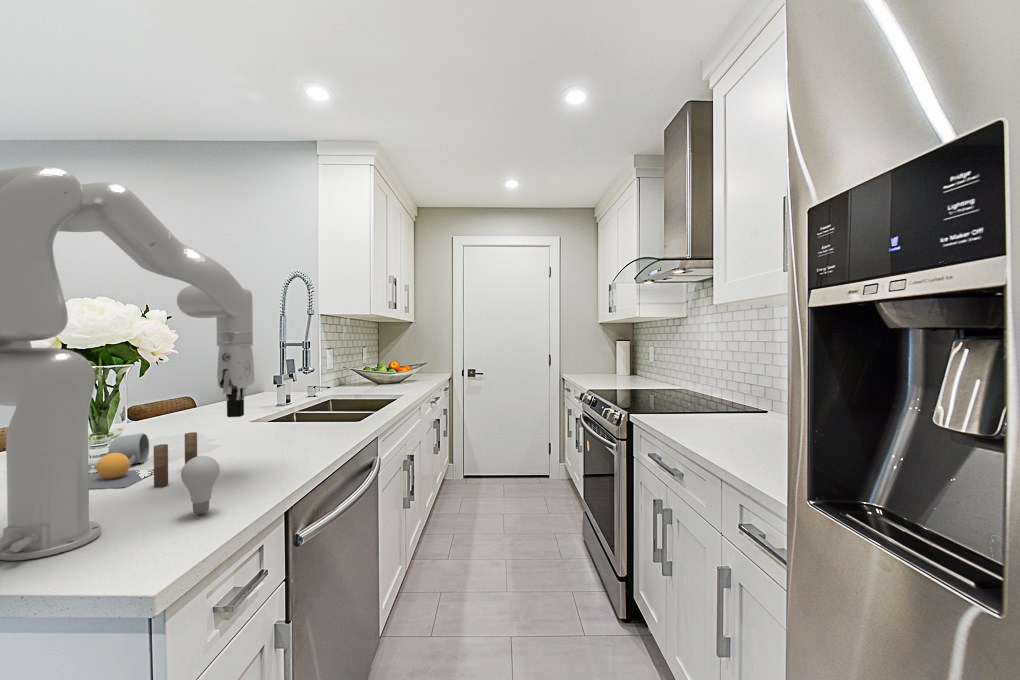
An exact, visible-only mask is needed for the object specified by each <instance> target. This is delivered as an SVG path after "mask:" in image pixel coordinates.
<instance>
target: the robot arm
mask: <svg viewBox="0 0 1020 680" xmlns="http://www.w3.org/2000/svg"><path fill="white" fill-rule="evenodd" d="M58 232H64V233H65V232H66V233H68V232H69V233H91V232H92V233H95V232H101V233H103V234H104V235H105V236H106V237H108V238H109V240H111V241H112V242H113V243H114V244H115V245H116V246H117V247H118V248H120V249H121V251H123V252H124V253H125V255H127V256H128V257H129V258H130V259H131V260H133V261H134V263H136V264H137V265H138V266H139V267H141V268H142V269H144V270H146V271H148V272H150V273H154V274H157V275H159V276H162V277H166V278H170V279H175V280H177V281H182V282H183V283H186V284H189V285H188V286H186V287H183V288H182V289H181V290H180V291H179V292H178V294H177V295H176V296H177V297H176V305H177V308H179V310H180V311H181V312H182V313H183V314H185V315H187V316H188V317H192V318H195V319H196V318H197V319H212V318H216V347H218V354H217V367H216V368H217V369H216V371H217V372H216V375H217V386H218V388H220V389H222V394H223V395H225V398H226V399H225V400H226V417H228V418H241V417H243V416H245V395H246V394H245V393H246V390H247V389H248V387H250V386H252V385H253V384H254V383H255V366H254V354H253V348H252V346H254V344H253V342H254V340H253V338H254V337H253V336H254V333H253V330H254V328H253V326H254V325H253V311H254V310H253V293H252V291H251V290H249V289H247V288H243V287H242V285H241V283H240V282H239V281H238V280H237V279H236V278H235V276H233V274H231V272H230V271H228V270H227V268H226V267H224V266H223V265H221V264H220V263H219V262H217V261H216V260H215V259H212V258H211V257H209V256H207V255H205V254H204V253H202V252H200V251H199V250H197V249H195V248H193V247H191V246H189V245H187V244H184V243H183V242H181V241H180V240H179V239H177V237H176V236H175V235H174V234H173V233H172V232H171V231H170V229H168V228H167V227H166V225H164V224H163V222H161V221H160V219H158V217H157V216H156V215H155V213H153V212H152V211H151V210H150V209H149V208H148V206H146V204H144V202H142V200H141V199H140V198H139V196H137V195H136V194H135V193H134V192H133V191H132V190H130V189H129V188H128V187H127V186H124V185H122V184H120V183H115V182H94V183H80V181H79V180H78V178H77V177H75V175H73V174H72V173H71V172H68V171H67V170H65V169H62V168H59V167H56V166H55V167H54V166H48V165H46V166H45V165H33V166H23V167H13V168H8V169H7V168H6V169H0V406H3V407H4V406H7V407H8V406H9V407H15V409H14V412H13V414H12V416H11V419H10V421H9V424H8V427H7V432H6V438H5V439H6V440H5V441H6V442H5V446H6V447H5V449H6V450H5V453H6V454H5V455H6V501H7V503H6V505H7V507H6V508H7V526H6V527H4V528H3V529H2V531H3V533H2V534H3V535H2V536H1V537H0V560H1V561H25V560H32V559H38V558H43V557H48V556H53V555H56V554H61V553H65V552H67V551H70V550H74V549H77V548H79V547H82V546H84V545H86V544H88V543H90V542H92V541H95V539H97V538H98V537H99V536H100V535H102V534H101V533H102V525H101V524H100V523H98V522H96V521H90V494H89V493H90V489H89V473H90V471H89V468H90V467H89V415H90V407H91V402H92V397H93V393H94V389H95V384H96V383H95V382H96V373H95V370H94V368H93V365H92V364H91V363H90V362H89V360H88V359H87V358H86V357H85V356H83V355H81V354H80V353H77V352H75V351H73V350H70V349H65V348H59V347H58V348H57V347H33V346H32V343H31V342H34V341H36V342H37V341H44V340H49V339H51V338H55V337H56V336H58V335H60V334H61V333H62V332H63V331H65V329H66V327H67V325H68V320H69V318H68V315H69V314H68V309H67V304H66V302H65V298H64V293H63V290H62V286H61V281H60V279H59V275H58V270H57V267H56V262H55V257H54V256H55V255H54V242H55V238H56V235H57V234H58Z"/></svg>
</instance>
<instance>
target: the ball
mask: <svg viewBox="0 0 1020 680" xmlns="http://www.w3.org/2000/svg"><path fill="white" fill-rule="evenodd" d="M130 466H131V465H130V461H129V459H128V457H127V456H125V455H124V454H121V453H110V454H107V455H105V456H104V457H103V456H102V457H101V458H100V459H99V460H98V462H97V464H96V472H98V474H99V475H100V476H101V477H103V478H105V479H116V478H119V477H121V476H123V475H124V474H125V473H126V472H127V471H128V470H129V469H130Z"/></svg>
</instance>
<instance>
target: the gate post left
mask: <svg viewBox="0 0 1020 680" xmlns="http://www.w3.org/2000/svg"><path fill="white" fill-rule="evenodd" d="M153 469H154V474H153V488H155V487H161V488H164V487H163V486H165V487H168V486H169V445H168V444H167V443H166V444H165V443H163V444H156V445H154V446H153ZM167 485H168V486H167Z"/></svg>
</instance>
